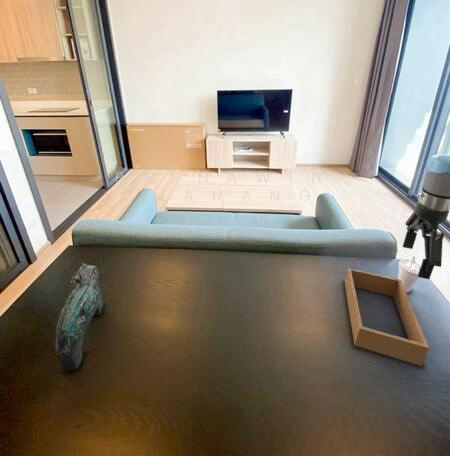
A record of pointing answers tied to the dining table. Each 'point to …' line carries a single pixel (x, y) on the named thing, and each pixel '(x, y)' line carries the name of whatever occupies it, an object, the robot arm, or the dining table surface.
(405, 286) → the smoothie
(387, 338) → the wooden box
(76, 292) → the dark teal curved piece
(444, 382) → the dining table surface
